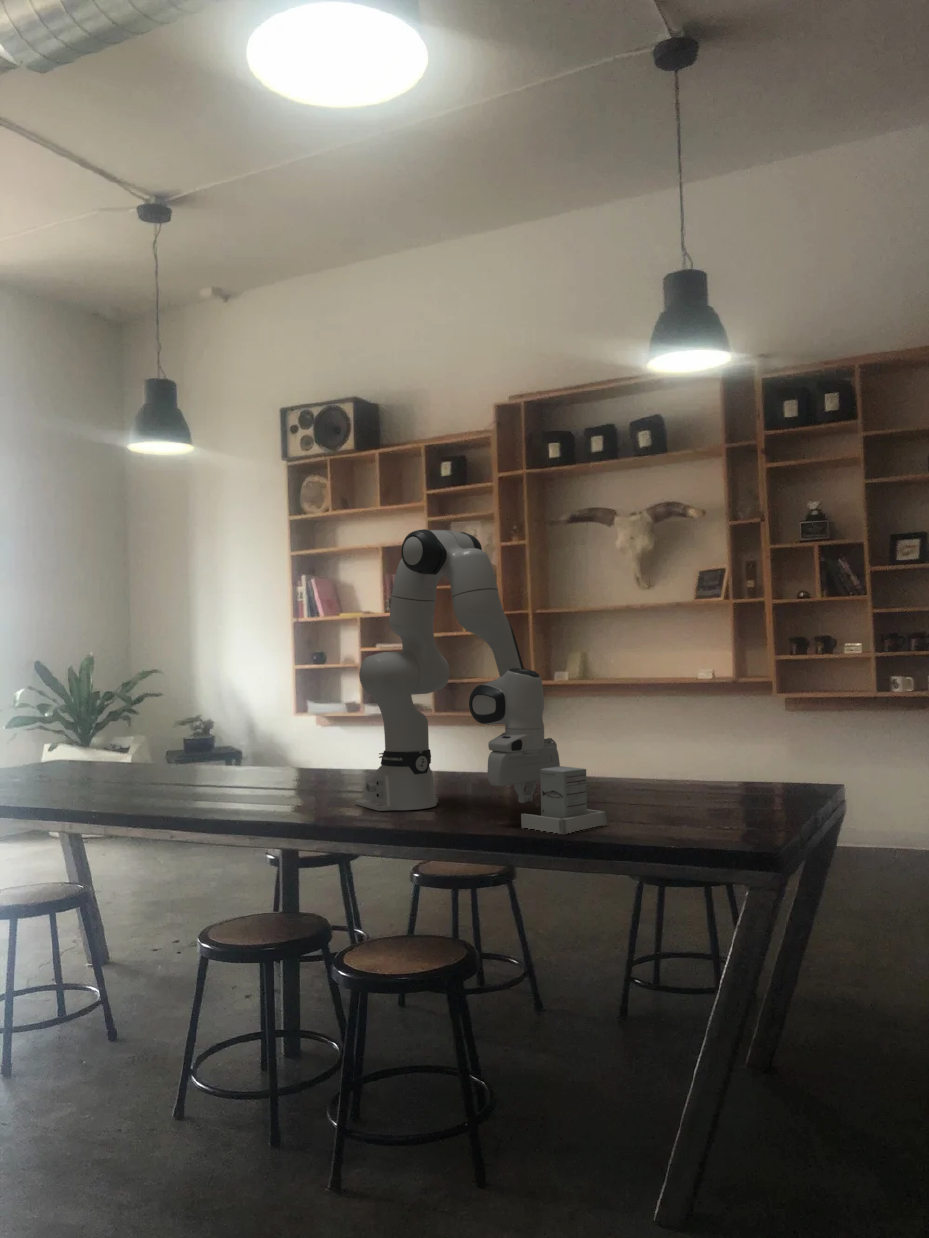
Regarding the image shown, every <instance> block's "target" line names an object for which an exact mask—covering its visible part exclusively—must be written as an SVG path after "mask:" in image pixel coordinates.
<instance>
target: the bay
mask: <svg viewBox="0 0 929 1238" xmlns="http://www.w3.org/2000/svg"><path fill="white" fill-rule="evenodd" d="M520 821H521V824H520V825H521V829H524V828H528V829H527V830H530V829H535V830H534V831H536V830H540V831H539V832H543V831H546V832H545V833H549V832H553V833H552V834H555V833H558V834H557V835H561V834H562V835H563V836H564V835H568V833H569V834H573V833H572V832H574V833H576V832H575V831H579V830H583V829H587V828H592V827H596V826H601V825H607V822H608V821H607V811H604V810H598V809H597V810H595V809H590V808H589V809H588V808H587V814H585V815H580V816H575V817H570V818H565V819H559V818H552V817H545V816H541V815H538V814H531V813H530V814H529V813H520ZM607 826H608V825H607ZM583 831H584V830H583ZM579 832H580V831H579Z"/></svg>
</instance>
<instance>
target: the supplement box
mask: <svg viewBox="0 0 929 1238" xmlns="http://www.w3.org/2000/svg"><path fill="white" fill-rule="evenodd" d="M587 799H588V793H587V768H579V767H571V766H562V765H561V766H558V767H551V768H544V769H540V816H545V817H552V818H559V819H565V818H570V817H575V816H580V815H585V814H587V809H588V800H587Z"/></svg>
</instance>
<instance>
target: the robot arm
mask: <svg viewBox="0 0 929 1238" xmlns="http://www.w3.org/2000/svg"><path fill="white" fill-rule="evenodd" d="M400 552H401V559H400V560H399V562H398V566H397V568H396V571H395V575H394V579H393V584H392V593H391V601H390V611H389V620H388V625H389V628H390V630H391V631H392V632H393V633H394V634H396V635H397V636H398V637H399V638H400V640H401V645H402V649H401V651H383V652H379V653H375V654H371V655H368V656H366V657H365V658H364V660H363V661H362V663H361V665H360V667H359V672H358V673H359V674H358V677H359V682H360V684H361V687H362V689H363V690H364V691H365V692H366V693H368V694H369V695H370V696H371V697H372V698H373V699H374V701H375V703H376V704H377V707H378V709H379V710H380V713H381V717H382V720H383V721H382V722H383V733H384V750H383V752H380V753H378V755H380V756H378V758H379V759H381V761H380V766H379V767H378V768H377V770H375V771H374V772H373V773H372V774H371V776H370V777H368V778H367V779H366V780H365V784H364V795H363V796H364V797H363V798H359V799H357V800H355V802H354V805H357V806H361V807H363V808H367V809H371V810H374V811H379V812H382V811H383V812H384V811H385V812H387V811H413V810H423V809H431V808H433V807H436V806H437V804H438V803H439V798H438V797H436V791H435V784H434V776H433V775H434V774H433V770H432V769H431V767H430V764H431V763H432V754H431V753H432V752H431V749H430V747H429V746H430V744H429V719H428V718H427V717H426V715H425V714H424V713H423V712H421V711H419V710H418V709H417V707H416V706H415V703H414V702H413V701H414V700H413V698H412V695H427V694H430V693H434V692H437V691H439V690H440V691H441V690H442V689H444V688H445V687H446V686H447V684H448V682H449V680H450V667H449V666H450V665H449V663H448V661H447V659H446V658H445V656H444V655H442V653H441V652H440V650H439V649H438V646H437V644H436V639H435V635H434V633H435V632H434V624H435V623H434V620H435V609H436V608H435V607H436V599H437V587H438V585H439V584H438V583H439V582H440V580H441V578H442V579H443V577H446V578H447V580H448V581H449V587H450V594H451V601H452V607H453V611H454V615H455V617H456V620H457V622H458V624H459V625H460V626H461V627H462V628H463V629H464V630H466V631H467V632H469V633H471V634H473V635H475V636H477V637H478V638H480V639H481V640H482V641H484V642H485V643H486V644H487V645H488V646H489V648H490V649H491V650H492V654H493V657H494V659H495V660H494V661H495V664H496V667H497V668H496V669H497V670H498V671H497V672H498V675H499V677H497V679H496V678H495V679H493V680H492V681H489V682H485V683H482V684H479V685H476V687H474V688H473V690H472V691H471V693H470V695H469V699H468V708H469V712H470V714H471V716H472V718H473V719H474V720H475V721H476V722H478V723H479V724H483V725H489V726H490V725H502V724H504V732H503V733H501V734H500V735H498V736H495V738H493V739H490V741H488V750H489V751H491V752H490V753H489V754H488V758H487V781H488V783H489V785H491V786H493V787H494V786H496V787H505V786H512V785H513V788H514V791H515V792H516V794H517V796H518V797H517V801H518V803H521V804H525V803H530V802H531V803H532V802H533V799H534V797H533V795H534V792H535V790H536V787H537V782H539V781H540V782H541V780H540V769H544V768H551V767H558V766H560V765H561V763H560V756H559V750H558V749H557V748H558V747H557V746H558V745H557V742H556V741H555V740H554V739H553V738H551V737H548V738H545V725H544V721H543V713H544V710H545V700H544V699H545V698H544V697H545V695H544V687H543V682H542V681H543V680H542V678H541V676H540V674H539V673H538V672H537V671H535V670H532V669H528V668H524V664H523V661H522V657H521V653H520V649H519V646H518V643H517V642H518V641H517V639H516V636H515V632H514V629H513V627H512V625H511V623H510V621H509V619H508V618H507V615H506V613H505V611H504V609H503V605H502V602H501V598H500V595H499V588H498V583H497V580H496V576H495V572H494V569H493V566H492V562H491V560H490V558H489V555H488V554H487V553H486V552H485V551H484V550H483V548H482V545H481V542H480V541H479V539H478V538H477V537H475V536H474V535H472V534H469V533H466V532H465V531H464V532H462V531H460V532H458V531H455V530H449V529H430V530H429V529H424V528H423V529H416V530H414V531H411V532H410V533H408V534H407V535H406V536H405V538H404V539H403V541H402V545H401V551H400ZM525 786H526V787H525ZM524 788H526V789H525V790H524Z"/></svg>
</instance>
